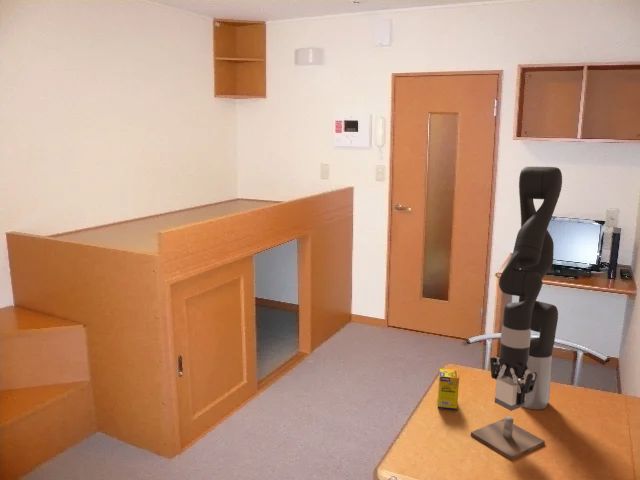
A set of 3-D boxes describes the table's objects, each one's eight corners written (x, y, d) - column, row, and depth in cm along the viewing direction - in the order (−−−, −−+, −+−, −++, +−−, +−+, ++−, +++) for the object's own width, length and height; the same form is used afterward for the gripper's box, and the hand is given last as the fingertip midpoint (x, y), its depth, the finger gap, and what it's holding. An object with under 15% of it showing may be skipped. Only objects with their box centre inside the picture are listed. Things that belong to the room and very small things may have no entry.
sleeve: (507, 397, 157) (510, 374, 156) (524, 405, 153) (526, 382, 151) (494, 402, 154) (496, 378, 153) (511, 410, 150) (513, 386, 148)
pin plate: (503, 421, 165) (505, 401, 164) (544, 444, 154) (546, 422, 152) (470, 435, 158) (472, 414, 157) (511, 460, 146) (513, 437, 145)
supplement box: (457, 411, 171) (459, 378, 169) (437, 409, 172) (439, 376, 170) (456, 401, 177) (458, 369, 175) (437, 400, 178) (439, 368, 176)
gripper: (547, 348, 146) (541, 407, 149) (502, 331, 158) (498, 386, 161) (528, 353, 142) (522, 414, 145) (484, 335, 154) (480, 392, 157)
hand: (509, 399), depth 153 cm, fingers closed on sleeve, 5 cm apart
